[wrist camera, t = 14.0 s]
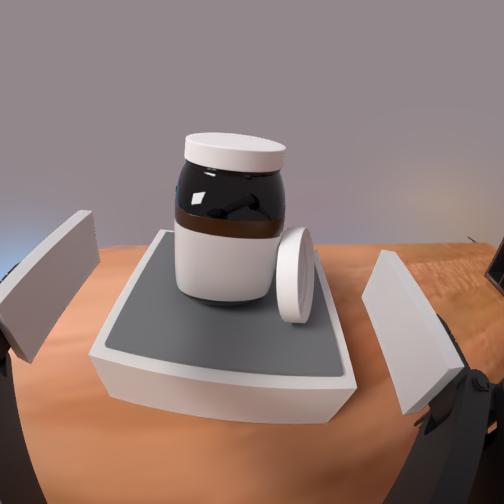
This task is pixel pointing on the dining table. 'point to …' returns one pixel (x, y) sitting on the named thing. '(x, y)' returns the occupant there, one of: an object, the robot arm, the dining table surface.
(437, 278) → the dining table surface
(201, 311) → the riser
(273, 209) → the spread jar
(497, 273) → the letter holder
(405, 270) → the robot arm
